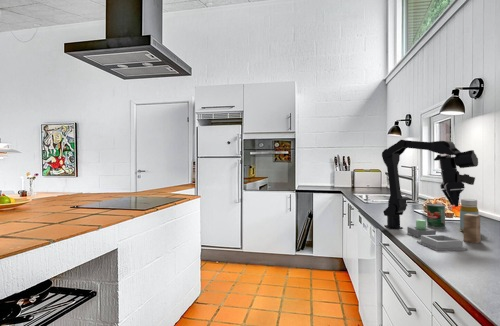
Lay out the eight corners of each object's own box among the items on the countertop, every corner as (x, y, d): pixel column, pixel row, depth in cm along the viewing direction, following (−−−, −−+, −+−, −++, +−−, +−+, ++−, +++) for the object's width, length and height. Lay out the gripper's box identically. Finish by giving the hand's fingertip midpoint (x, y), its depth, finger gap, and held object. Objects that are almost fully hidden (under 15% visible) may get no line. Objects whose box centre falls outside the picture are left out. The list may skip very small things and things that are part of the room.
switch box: (407, 233, 139) (407, 226, 139) (424, 232, 140) (424, 226, 140) (418, 237, 131) (418, 230, 131) (435, 237, 132) (435, 230, 132)
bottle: (481, 233, 137) (481, 200, 137) (464, 233, 139) (464, 200, 138) (473, 230, 144) (473, 198, 144) (457, 229, 145) (457, 198, 145)
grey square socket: (416, 242, 124) (416, 234, 124) (444, 241, 125) (444, 234, 125) (436, 250, 112) (436, 242, 112) (467, 249, 113) (467, 241, 113)
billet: (463, 241, 125) (463, 214, 125) (467, 239, 128) (467, 213, 128) (476, 243, 121) (476, 216, 121) (480, 241, 124) (480, 215, 124)
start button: (414, 229, 138) (414, 219, 138) (422, 229, 138) (422, 219, 138) (419, 231, 134) (419, 221, 134) (428, 231, 134) (428, 221, 134)
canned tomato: (445, 225, 155) (445, 204, 155) (445, 228, 148) (445, 206, 148) (427, 223, 159) (427, 203, 159) (426, 226, 153) (426, 205, 153)
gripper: (476, 166, 118) (483, 206, 117) (466, 168, 135) (472, 203, 134) (443, 169, 123) (449, 207, 122) (437, 171, 140) (443, 204, 138)
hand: (454, 205), depth 129 cm, fingers open, 9 cm apart
